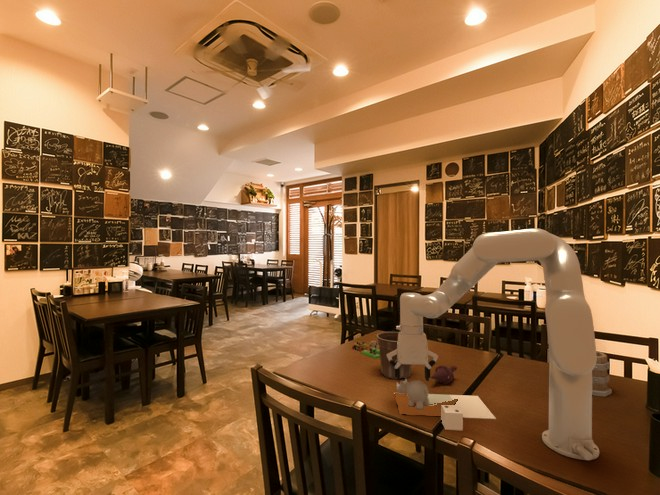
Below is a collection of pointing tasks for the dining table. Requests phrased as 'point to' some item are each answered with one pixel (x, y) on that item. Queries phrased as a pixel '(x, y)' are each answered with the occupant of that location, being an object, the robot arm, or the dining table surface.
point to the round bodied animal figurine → (414, 393)
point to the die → (451, 417)
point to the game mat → (464, 405)
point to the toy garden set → (372, 353)
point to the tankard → (600, 376)
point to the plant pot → (387, 345)
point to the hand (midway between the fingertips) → (412, 379)
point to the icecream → (444, 374)
